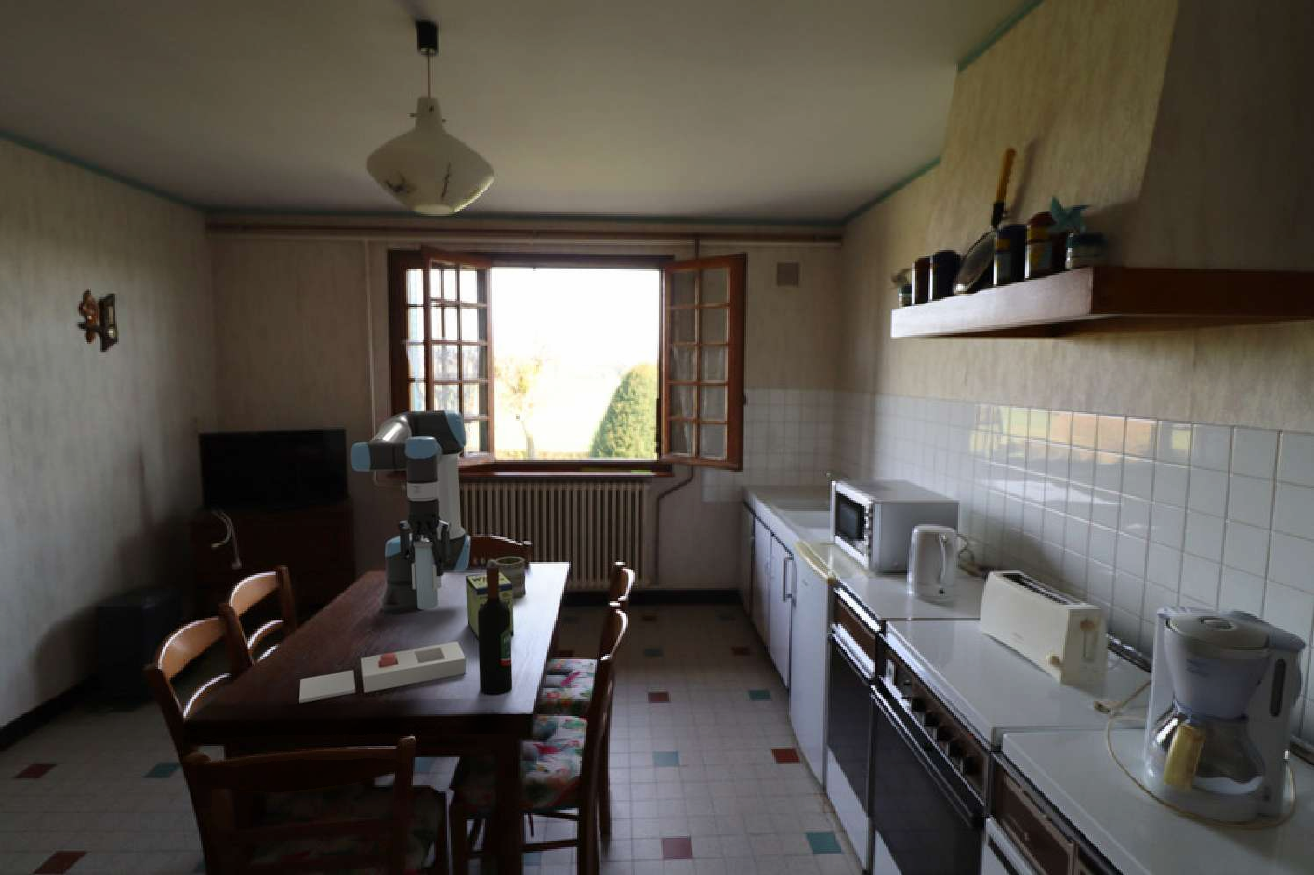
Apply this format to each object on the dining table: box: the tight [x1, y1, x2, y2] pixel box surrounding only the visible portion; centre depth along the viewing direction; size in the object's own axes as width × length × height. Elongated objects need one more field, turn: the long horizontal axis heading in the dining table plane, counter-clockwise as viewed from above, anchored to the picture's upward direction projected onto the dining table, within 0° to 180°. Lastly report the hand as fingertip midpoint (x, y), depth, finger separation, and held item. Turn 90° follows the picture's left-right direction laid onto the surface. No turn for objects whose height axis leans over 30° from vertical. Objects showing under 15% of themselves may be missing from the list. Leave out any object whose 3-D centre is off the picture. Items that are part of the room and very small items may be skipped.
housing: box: [360, 641, 467, 693], centre depth 177 cm, size 12×24×4 cm, turn 116°
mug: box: [486, 556, 527, 600], centre depth 240 cm, size 16×11×12 cm
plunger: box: [380, 652, 396, 667], centre depth 174 cm, size 4×4×4 cm
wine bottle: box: [478, 565, 513, 696], centre depth 167 cm, size 8×8×30 cm
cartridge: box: [413, 537, 439, 610], centre depth 177 cm, size 6×6×17 cm
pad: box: [298, 669, 356, 704], centre depth 169 cm, size 12×12×1 cm
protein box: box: [465, 572, 515, 642], centre depth 206 cm, size 10×16×16 cm
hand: (427, 587), depth 177 cm, fingers closed on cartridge, 5 cm apart
